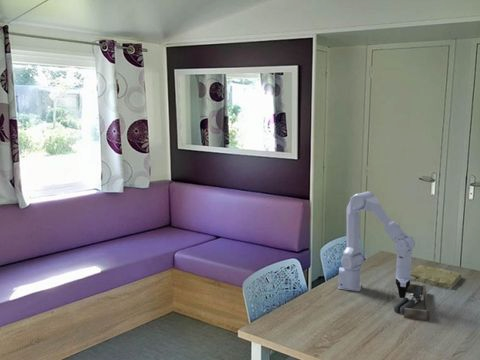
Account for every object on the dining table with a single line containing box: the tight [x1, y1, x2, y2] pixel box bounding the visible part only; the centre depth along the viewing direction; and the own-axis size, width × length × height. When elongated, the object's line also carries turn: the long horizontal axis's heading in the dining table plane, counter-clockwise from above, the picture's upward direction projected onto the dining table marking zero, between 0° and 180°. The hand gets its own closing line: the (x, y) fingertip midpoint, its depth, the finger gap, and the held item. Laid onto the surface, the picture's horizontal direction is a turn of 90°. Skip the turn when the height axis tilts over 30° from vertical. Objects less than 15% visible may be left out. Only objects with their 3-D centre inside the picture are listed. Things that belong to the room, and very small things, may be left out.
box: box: [403, 283, 430, 321], centre depth 201 cm, size 9×28×4 cm, turn 163°
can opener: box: [393, 287, 423, 315], centre depth 200 cm, size 19×5×6 cm, turn 139°
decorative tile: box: [410, 264, 462, 290], centre depth 230 cm, size 19×20×4 cm
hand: (401, 297), depth 203 cm, fingers closed
